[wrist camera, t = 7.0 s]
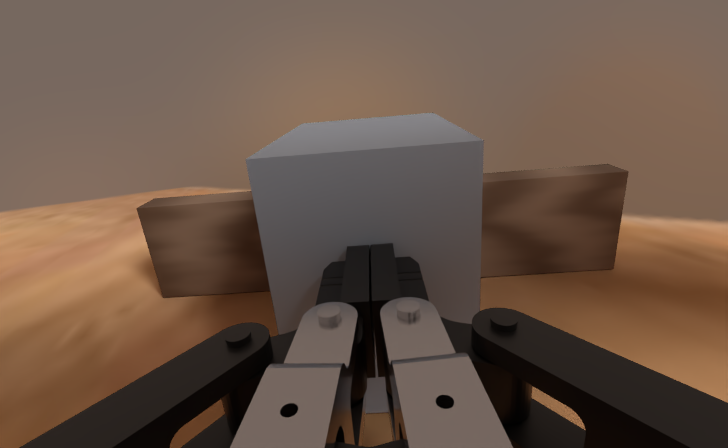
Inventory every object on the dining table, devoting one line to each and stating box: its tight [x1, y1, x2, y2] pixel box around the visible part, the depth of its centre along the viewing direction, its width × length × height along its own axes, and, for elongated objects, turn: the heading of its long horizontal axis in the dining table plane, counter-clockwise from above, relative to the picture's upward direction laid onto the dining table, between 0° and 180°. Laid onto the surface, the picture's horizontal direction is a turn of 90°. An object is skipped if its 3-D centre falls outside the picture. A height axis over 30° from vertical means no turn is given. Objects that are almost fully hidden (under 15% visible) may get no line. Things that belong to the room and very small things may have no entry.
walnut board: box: [137, 164, 628, 298], centre depth 24 cm, size 28×2×6 cm, turn 89°
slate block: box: [246, 113, 484, 413], centre depth 18 cm, size 7×10×10 cm
